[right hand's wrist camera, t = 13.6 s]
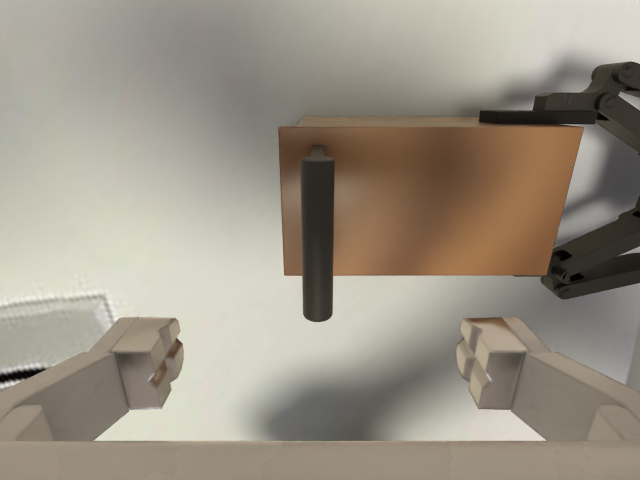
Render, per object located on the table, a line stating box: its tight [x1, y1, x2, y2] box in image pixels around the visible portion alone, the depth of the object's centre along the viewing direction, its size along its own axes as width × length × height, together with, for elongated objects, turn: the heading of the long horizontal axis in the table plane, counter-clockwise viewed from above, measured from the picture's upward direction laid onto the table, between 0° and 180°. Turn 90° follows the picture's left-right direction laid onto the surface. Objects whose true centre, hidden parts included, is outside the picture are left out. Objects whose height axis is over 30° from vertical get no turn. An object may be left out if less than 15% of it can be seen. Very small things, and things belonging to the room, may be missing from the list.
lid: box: [278, 126, 584, 322], centre depth 20 cm, size 18×10×8 cm, turn 90°
